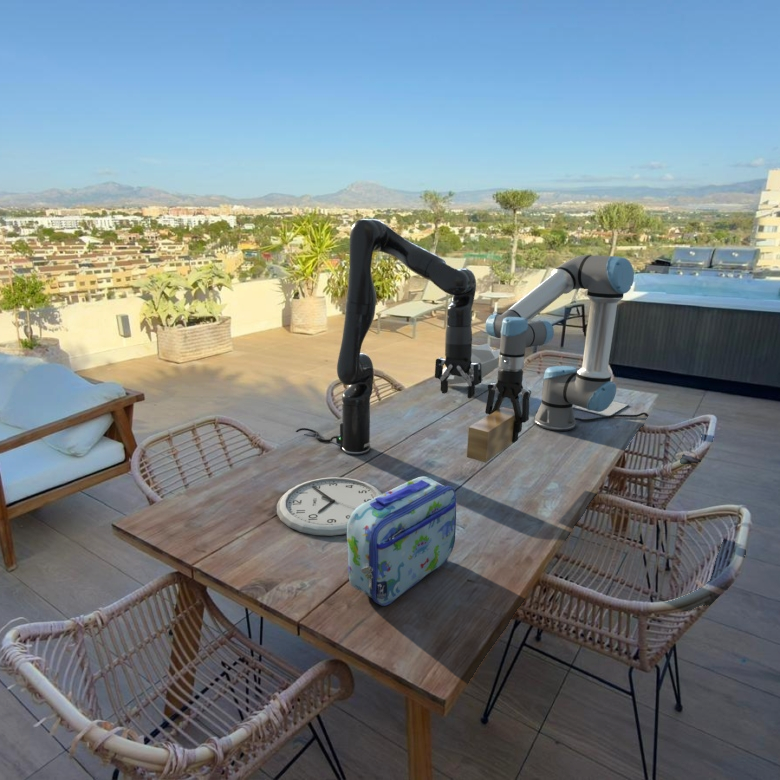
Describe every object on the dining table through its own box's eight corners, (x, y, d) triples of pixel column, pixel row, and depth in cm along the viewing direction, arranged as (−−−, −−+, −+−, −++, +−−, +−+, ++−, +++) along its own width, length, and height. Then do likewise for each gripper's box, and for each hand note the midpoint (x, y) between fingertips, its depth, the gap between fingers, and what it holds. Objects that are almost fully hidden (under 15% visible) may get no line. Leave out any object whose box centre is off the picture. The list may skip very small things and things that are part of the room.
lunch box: (376, 619, 101) (377, 524, 95) (340, 592, 109) (339, 502, 102) (459, 562, 119) (465, 479, 113) (424, 542, 126) (427, 463, 120)
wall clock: (392, 527, 129) (268, 531, 127) (391, 533, 130) (269, 537, 127) (383, 473, 158) (282, 475, 155) (383, 478, 158) (282, 480, 156)
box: (500, 434, 171) (502, 406, 168) (518, 439, 167) (520, 411, 164) (466, 457, 154) (468, 426, 151) (485, 462, 150) (488, 432, 147)
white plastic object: (461, 429, 252) (437, 405, 227) (444, 352, 274) (420, 323, 250) (535, 404, 240) (518, 377, 215) (510, 326, 262) (492, 293, 237)
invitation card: (608, 416, 214) (573, 407, 224) (608, 416, 214) (573, 408, 224) (628, 404, 229) (594, 396, 238) (628, 405, 229) (594, 397, 238)
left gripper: (430, 340, 150) (429, 394, 155) (474, 345, 142) (472, 402, 146) (443, 336, 156) (443, 388, 160) (487, 341, 148) (485, 396, 152)
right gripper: (476, 365, 162) (472, 434, 169) (536, 376, 151) (528, 449, 158) (487, 361, 168) (482, 428, 175) (545, 371, 157) (538, 442, 164)
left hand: (457, 395), depth 153 cm, fingers open, 8 cm apart
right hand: (504, 438), depth 166 cm, fingers closed on box, 6 cm apart
